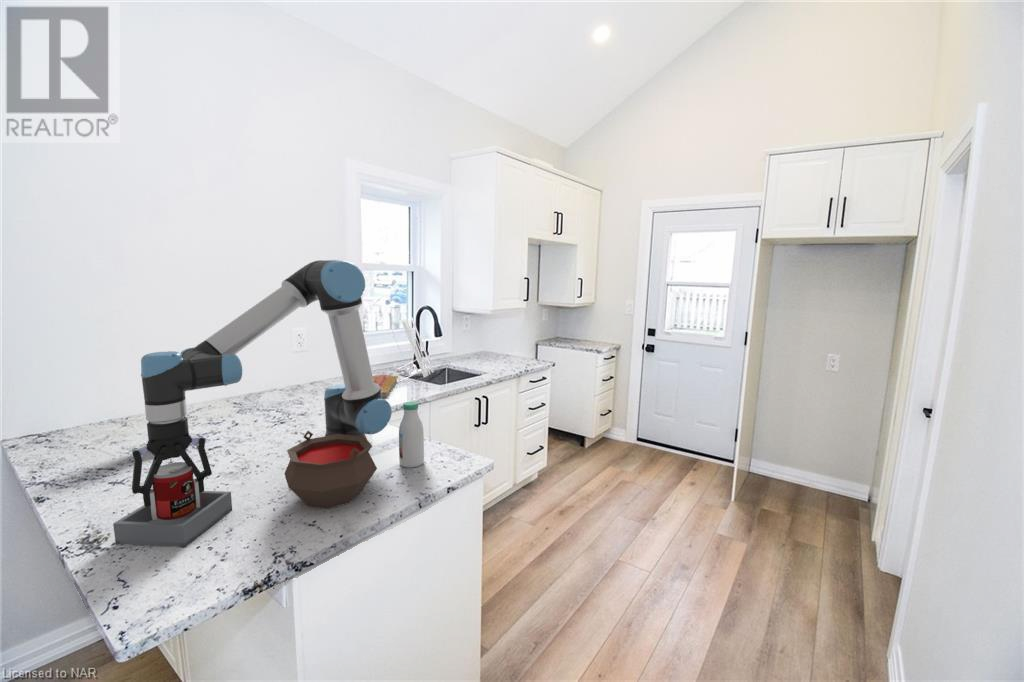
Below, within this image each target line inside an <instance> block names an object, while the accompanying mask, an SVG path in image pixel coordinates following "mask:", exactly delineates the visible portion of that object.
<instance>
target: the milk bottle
mask: <svg viewBox="0 0 1024 682" xmlns="http://www.w3.org/2000/svg"><path fill="white" fill-rule="evenodd" d="M402 408H403V416H402V419H401V420H400V424H399V428H398V447H399V448H398V452H399V453H398V455H399V456H398V457H399V464H400V466H402V467H403V468H410V469H411V468H418V467H420V466H423V464H424V461H425V450H424V449H425V442H424V441H425V440H424V437H425V436H424V426H423V422H422V420H421V418H420V416H419V414H418V410H419V402H417V401H407V402H404V403H403V407H402Z"/></svg>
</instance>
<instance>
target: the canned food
mask: <svg viewBox="0 0 1024 682" xmlns="http://www.w3.org/2000/svg"><path fill="white" fill-rule="evenodd" d="M194 479H195V478H194V474H193V472H192V466H190V467H188V465H187V464H186V463H185V461H182V462H181V461H180V462H179V461H177V462H171V463H167V464H166V463H165V464H164V465H160V467H159V470H158V472H157V474H154V482H153V485H152V489H153V491H154V497H155V506H156V515H157V517H158V518H159V519H162V520H173V519H178V518H181V517H184V516H186V515H188V514H190V513H191V512H193V511H194V509H195V506H196V502H195V491H194Z"/></svg>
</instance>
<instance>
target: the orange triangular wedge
mask: <svg viewBox="0 0 1024 682" xmlns="http://www.w3.org/2000/svg"><path fill="white" fill-rule="evenodd" d="M372 376H373V381H374V383H375V384H377V385H379V386H380V389H381V394H382V398H383V399H387V398H388V397H389V395H390V393H391V392H392V391H393V388H394V387H395V385H396V384H397V382H398V376H399V375H398V376H397V375H391V374H378V375H372Z"/></svg>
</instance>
